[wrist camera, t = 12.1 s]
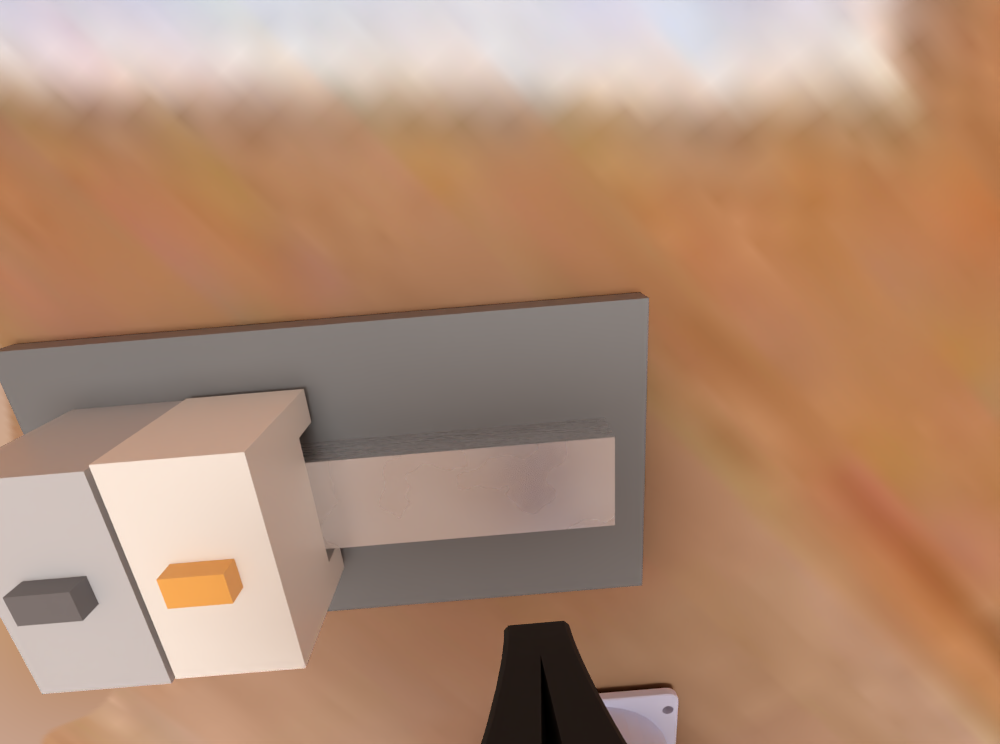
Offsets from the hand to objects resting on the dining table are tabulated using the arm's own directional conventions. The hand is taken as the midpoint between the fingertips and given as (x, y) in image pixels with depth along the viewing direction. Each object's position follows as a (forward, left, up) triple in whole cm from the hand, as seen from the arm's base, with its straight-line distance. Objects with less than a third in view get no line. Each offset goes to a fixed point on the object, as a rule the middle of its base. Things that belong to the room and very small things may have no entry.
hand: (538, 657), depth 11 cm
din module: (0, +9, -8) cm, 12 cm away
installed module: (0, +13, -9) cm, 16 cm away
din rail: (0, +6, -8) cm, 10 cm away
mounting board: (0, +6, -9) cm, 11 cm away
